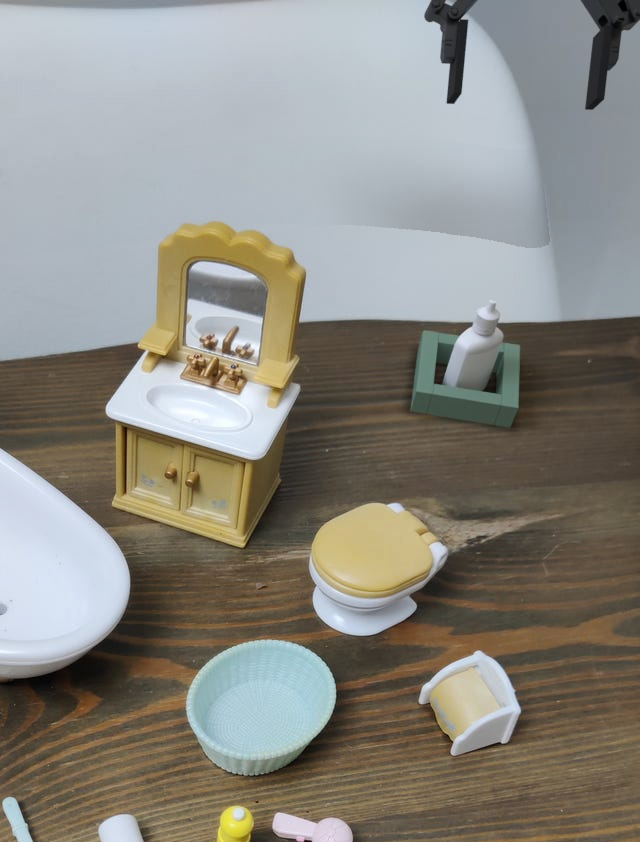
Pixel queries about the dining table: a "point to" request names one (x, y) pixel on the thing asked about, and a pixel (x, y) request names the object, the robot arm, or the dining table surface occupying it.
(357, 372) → the dining table surface
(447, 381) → the eye dropper bottle
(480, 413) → the socket pad
